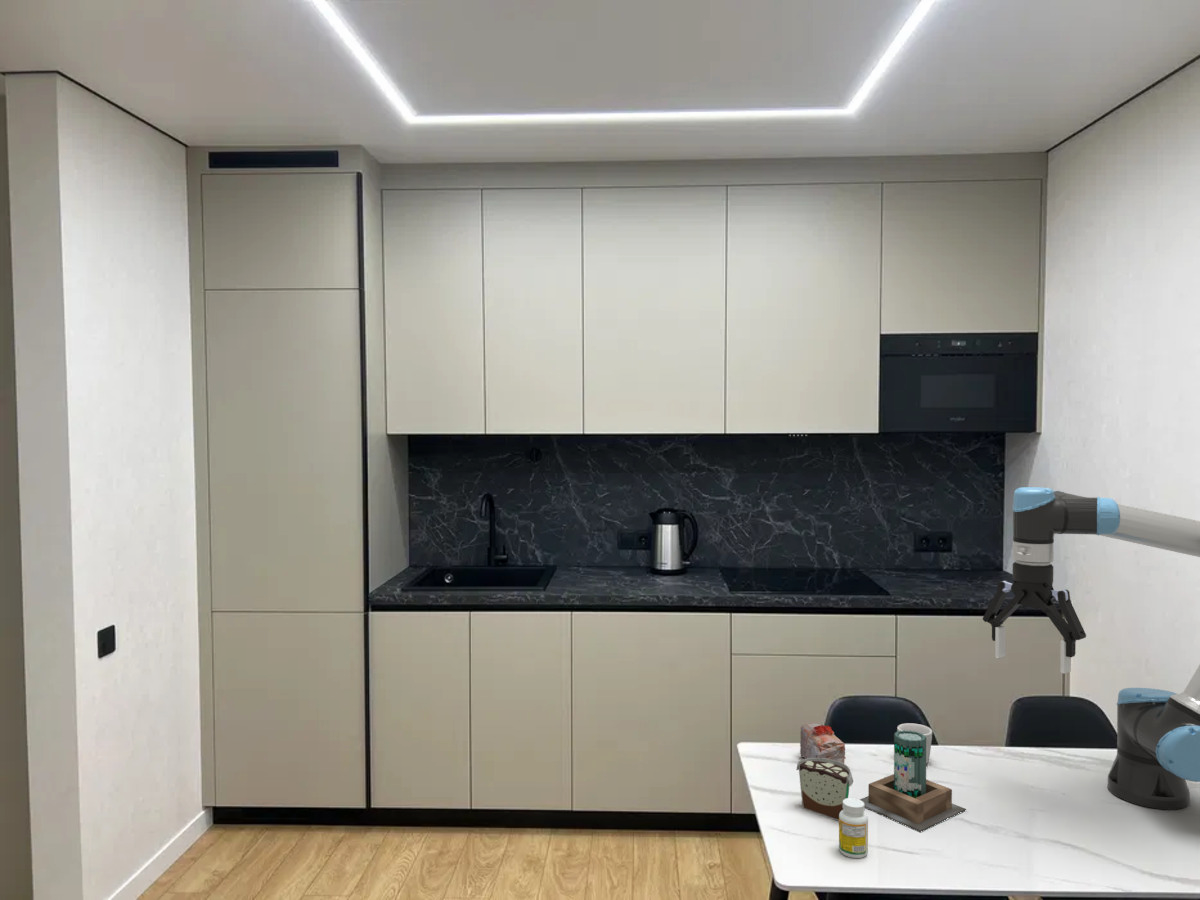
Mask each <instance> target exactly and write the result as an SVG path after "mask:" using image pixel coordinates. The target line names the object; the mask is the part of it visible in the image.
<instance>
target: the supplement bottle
mask: <svg viewBox="0 0 1200 900" xmlns="http://www.w3.org/2000/svg"><path fill="white" fill-rule="evenodd" d="M865 809H866V808H865V807H864V802H863V801H861V800H860V799H858V798H854V797H848V798H846V799H844V800H843V810H842V811H841V812H840V814H839V821H838V849H839V852H840V853H841V854H842V855H843V856H846V857H848V858H851V859H852V858H853V859H862V858H864V857H866V856H867V855H868V852H869V818H868V817H869V816H868V815H867V814H866V813H865Z"/></svg>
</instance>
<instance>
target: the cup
mask: <svg viewBox="0 0 1200 900" xmlns="http://www.w3.org/2000/svg"><path fill="white" fill-rule="evenodd" d="M896 728H897V729H896V732H898V731H904V730H905V731H915V732H918V733H921V734H923V735H925V736H926V764H927V763H928V762H929V761H930V755H931V748H932V739H933V729H931V728H930V727H929V726H927V725H924V724H918V723H912V722H911V723H909V722H907V723H906V722H905V723H901V724H898V725H897V727H896Z"/></svg>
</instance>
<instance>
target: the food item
mask: <svg viewBox="0 0 1200 900" xmlns="http://www.w3.org/2000/svg"><path fill="white" fill-rule="evenodd" d="M799 746H800V750H799V753H800V755H801V757H803V758H804V759H807V758H825V759H831V760H835V761H838V762H841V763H843V764H845V761H846V759H847V758H846V747H845V746H846V744H845V742H843V741H842V740H841V739H839V737H837V736H836V735H835V732H834V731H833V730H832V727H831V726H829V725H824V724H821V723H813V722H812V723H808V724H803V725H801V726H800V743H799Z"/></svg>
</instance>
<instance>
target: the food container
mask: <svg viewBox="0 0 1200 900" xmlns="http://www.w3.org/2000/svg"><path fill="white" fill-rule="evenodd" d="M796 771H798V773H799V784H800V794H801V806H802V810H805V811H808V812H811V813H814V814H817V815H820V816H822V817H826V818H829V819H831V820H834V821H837V822H839V814H840V812H841V811H842V810H843V800H844V799H846V798H849V792H850V787H851V786H852V785H853V783H854V777H853V774H852V771H851V769H850V767H848V765H846V764H845V763H844V764H843V763H841V762H838V761H835V760H831V759H825V758H807V759H806V758H804V759H801V760H798V763H797V764H796Z"/></svg>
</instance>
